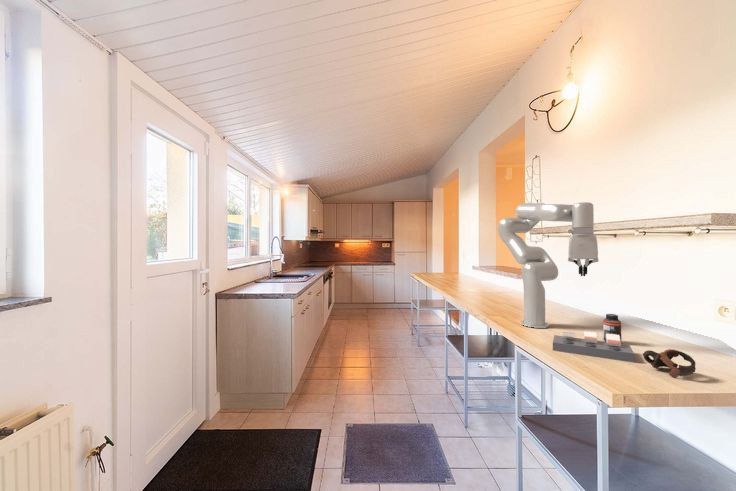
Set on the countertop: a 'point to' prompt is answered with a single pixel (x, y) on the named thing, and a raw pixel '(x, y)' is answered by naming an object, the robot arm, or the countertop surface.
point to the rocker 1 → (568, 335)
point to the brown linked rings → (670, 362)
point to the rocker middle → (590, 337)
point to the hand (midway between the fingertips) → (582, 275)
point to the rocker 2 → (613, 340)
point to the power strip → (593, 348)
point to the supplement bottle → (611, 325)
